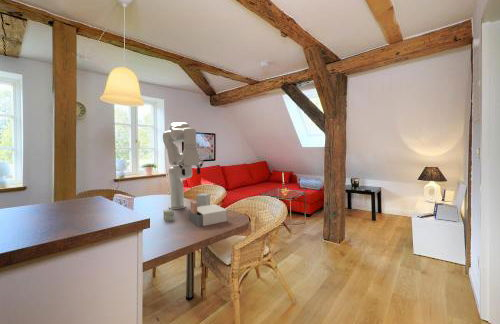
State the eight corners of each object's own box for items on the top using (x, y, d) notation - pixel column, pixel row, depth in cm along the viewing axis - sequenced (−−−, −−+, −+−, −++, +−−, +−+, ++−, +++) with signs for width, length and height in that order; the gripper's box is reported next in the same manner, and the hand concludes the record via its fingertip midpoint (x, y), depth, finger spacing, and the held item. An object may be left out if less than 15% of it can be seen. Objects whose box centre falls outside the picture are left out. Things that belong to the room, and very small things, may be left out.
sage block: (163, 219, 158) (163, 210, 157) (171, 218, 161) (171, 209, 160) (165, 221, 154) (165, 212, 153) (173, 220, 156) (173, 210, 156)
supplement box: (210, 210, 178) (210, 193, 176) (206, 213, 170) (205, 195, 169) (201, 209, 180) (201, 193, 178) (196, 212, 172) (196, 195, 171)
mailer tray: (188, 219, 157) (187, 199, 156) (214, 214, 168) (213, 196, 166) (197, 226, 144) (197, 205, 143) (225, 220, 154) (225, 200, 153)
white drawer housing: (192, 218, 160) (192, 207, 159) (214, 214, 169) (214, 204, 168) (203, 226, 145) (203, 214, 144) (227, 221, 154) (227, 210, 154)
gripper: (200, 147, 162) (201, 173, 162) (174, 148, 152) (175, 175, 153) (205, 147, 156) (206, 174, 156) (178, 147, 146) (179, 176, 146)
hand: (191, 174), depth 154 cm, fingers open, 9 cm apart
